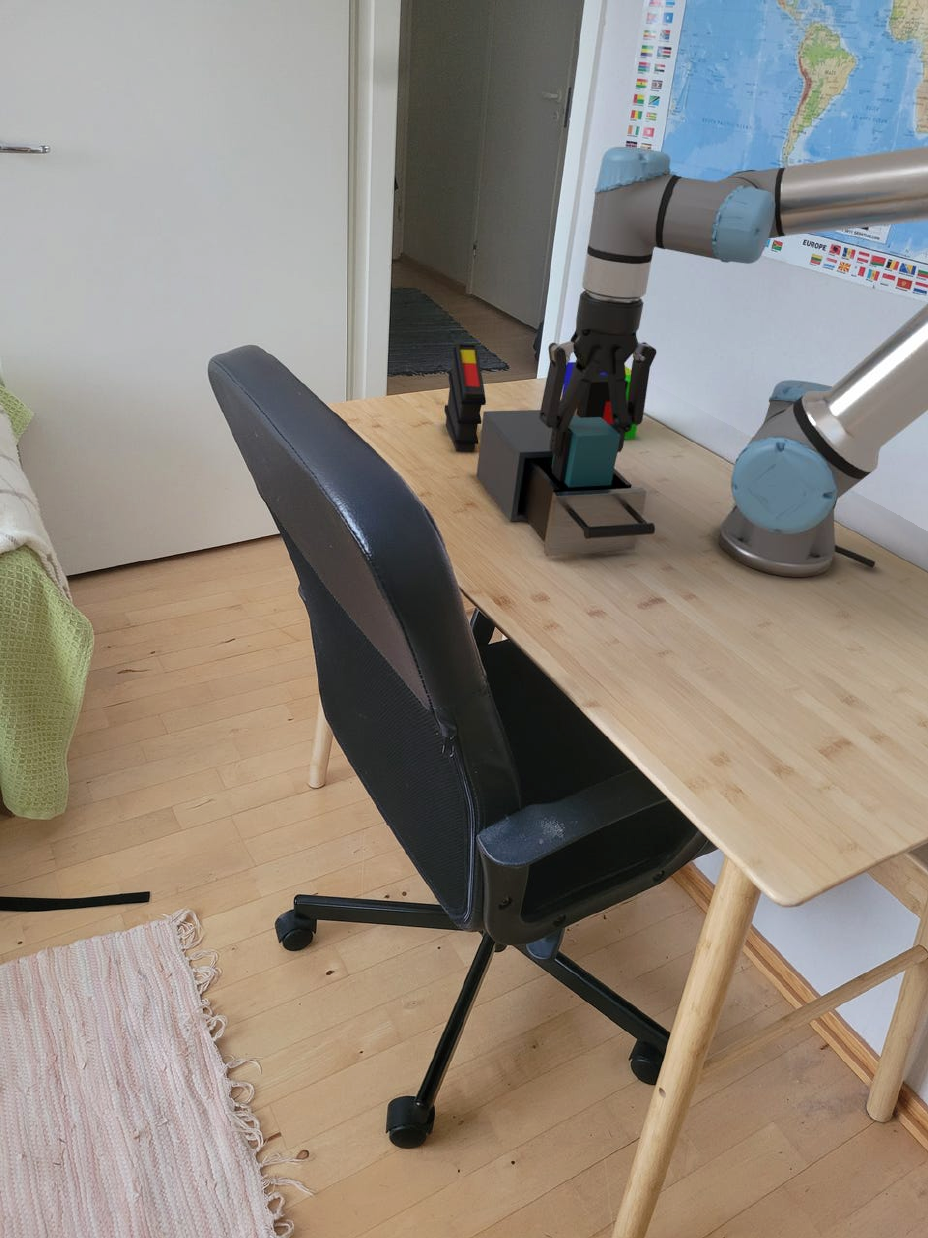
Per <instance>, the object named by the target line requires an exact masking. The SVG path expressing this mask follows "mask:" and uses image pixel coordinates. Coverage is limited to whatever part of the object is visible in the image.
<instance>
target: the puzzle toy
mask: <svg viewBox="0 0 928 1238" xmlns="http://www.w3.org/2000/svg"><path fill="white" fill-rule="evenodd" d="M575 362H576V361H569V362H567V370H566V375H565V380H564V385H563V390H562V394H561V397H562V396H563V394H564V392H565V389H566V387H567V385H568V383H569V380H570V378H571V376H572V369H573V366H574V364H575ZM631 370H632V369H630V368H629V367H627V366H626V365H625V373H626V379H625V389H626V399H627V400H628V392H629V385H630V377H631ZM584 371H585V370H584ZM575 414H577V415H578V416H579V417H580V418H589V417H601V418H602V419H603V420H605V421H606V422H607V423H611V424H613V423H614V422H613V421H612V412H611V404H610V395H609V386H608V377H607V374H606V373H599V374H595V375H594V377H593V379H592V381H591V382H589V383H588V385H587V387H586V389H585V392H584V394H583V396H582V398H581V400H580V403H579V405H578V407H577V409H576V411H575ZM631 426H632V428H631V430H630V431H629V432H626V433H625V438H624V440H635V438H636V433H637V429H638V425H636V424H633V425H631Z"/></svg>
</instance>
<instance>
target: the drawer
mask: <svg viewBox="0 0 928 1238" xmlns="http://www.w3.org/2000/svg"><path fill="white" fill-rule="evenodd" d="M552 461H553V457H541V458H525V462H524V469H523V476H522V484H521V491H520V498H519V505H518V510H519V511H520V512H521V513H522V515H523V516H524V517H525V518H526V520H527V521H526V522H528V524H529V525H530V526H531V527H532V529H533V530H534V531H535V532H536V534H537V535H538V536H539V538H540V539H541V540H542V541H543V543H544V545H543V554H545V556H546V557H552V556H563V555H565V556H566V555H578V554H579V555H580V554H590V553H591V554H593V553H603V552H604V553H605V552H616V551H617V552H619V551H629V550H630V551H632V550H635V549H636V545H637V540H638V536H645V535H646V536H647V535H654V534H655V532H656V525H655V524H654V522H648V521H646V520H645V519H644V517H642V516H643V512H644V507H645V502H646V497H647V494H648V492H647V490H646V489H645V488H644V487H633V488H632V484H631V483H630V482H629V480H628V479H626V477H624V476H623V474H621V473H620V472H619V471H618V470H617V469H616V468H615V467H614V472H613V477H612V483H611V485H608V486H589V487H571V488H569V487H568V486H567V485H566V484H565V483H564V482H563V481H559V480H558V479H557V478H556V477H555V476H554V474H553V473H552V468H551V467H552Z"/></svg>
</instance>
